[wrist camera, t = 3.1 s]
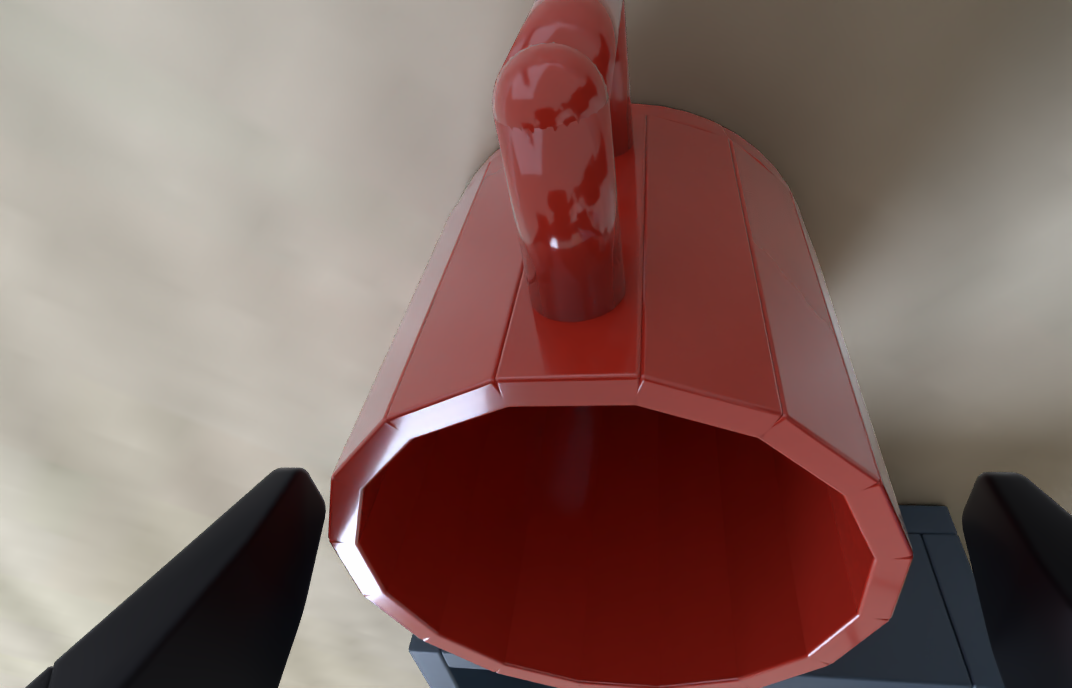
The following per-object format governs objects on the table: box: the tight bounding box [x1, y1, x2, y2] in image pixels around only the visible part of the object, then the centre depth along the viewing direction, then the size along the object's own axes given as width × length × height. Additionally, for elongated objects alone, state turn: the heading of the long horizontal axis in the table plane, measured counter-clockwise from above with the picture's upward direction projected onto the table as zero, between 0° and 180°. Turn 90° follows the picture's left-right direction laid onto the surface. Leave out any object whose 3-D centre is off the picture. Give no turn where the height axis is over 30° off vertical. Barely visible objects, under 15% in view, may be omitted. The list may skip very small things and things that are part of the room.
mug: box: [328, 0, 914, 688], centre depth 10 cm, size 9×7×6 cm
